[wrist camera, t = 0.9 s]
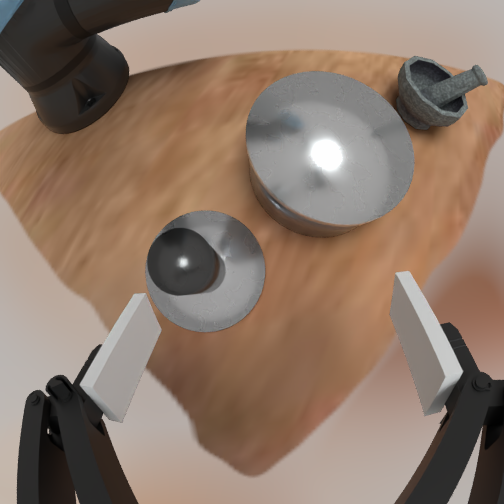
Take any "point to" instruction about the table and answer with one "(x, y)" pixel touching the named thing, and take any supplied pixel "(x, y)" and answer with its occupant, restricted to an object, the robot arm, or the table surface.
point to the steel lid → (205, 271)
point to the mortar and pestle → (434, 92)
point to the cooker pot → (326, 153)
